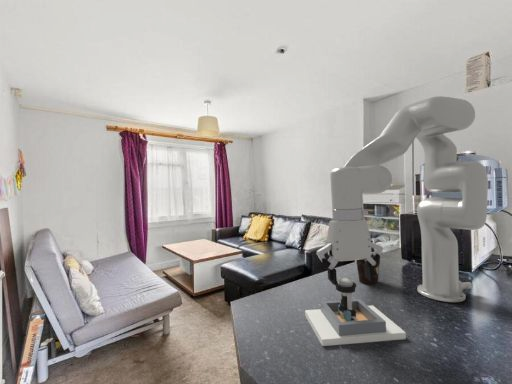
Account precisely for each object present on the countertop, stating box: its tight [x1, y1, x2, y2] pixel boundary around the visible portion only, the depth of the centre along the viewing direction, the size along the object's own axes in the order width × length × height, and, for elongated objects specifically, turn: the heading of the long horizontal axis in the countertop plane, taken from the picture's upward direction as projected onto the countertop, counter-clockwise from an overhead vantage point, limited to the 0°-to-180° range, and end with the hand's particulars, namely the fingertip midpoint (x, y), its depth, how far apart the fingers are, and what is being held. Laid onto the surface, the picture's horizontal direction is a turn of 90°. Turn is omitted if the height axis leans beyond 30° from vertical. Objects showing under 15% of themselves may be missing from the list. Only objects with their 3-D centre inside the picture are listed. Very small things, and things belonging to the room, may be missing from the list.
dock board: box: [304, 298, 407, 347], centre depth 64 cm, size 20×14×4 cm
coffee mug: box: [355, 252, 381, 286], centre depth 94 cm, size 12×9×10 cm
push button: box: [334, 277, 358, 322], centre depth 65 cm, size 7×5×10 cm
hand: (351, 281), depth 65 cm, fingers open, 9 cm apart
